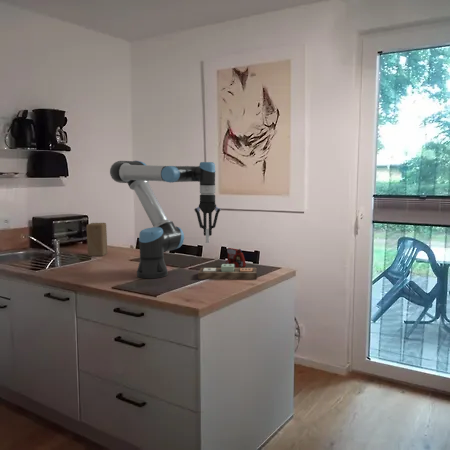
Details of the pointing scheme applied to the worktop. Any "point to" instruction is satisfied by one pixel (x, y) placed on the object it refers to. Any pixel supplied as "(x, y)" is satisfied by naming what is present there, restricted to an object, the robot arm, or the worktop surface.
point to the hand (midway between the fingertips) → (207, 242)
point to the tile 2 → (227, 268)
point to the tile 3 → (246, 269)
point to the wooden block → (97, 239)
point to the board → (227, 274)
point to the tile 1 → (209, 270)
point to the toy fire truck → (235, 258)
